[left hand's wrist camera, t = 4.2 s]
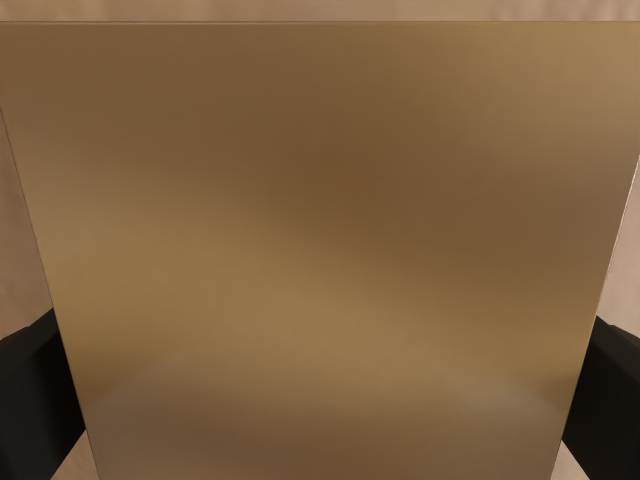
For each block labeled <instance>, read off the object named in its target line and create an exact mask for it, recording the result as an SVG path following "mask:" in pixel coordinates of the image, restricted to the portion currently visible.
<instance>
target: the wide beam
mask: <svg viewBox="0 0 640 480" xmlns="http://www.w3.org/2000/svg"><path fill="white" fill-rule="evenodd" d="M0 110H1V114H2V118H3V121H4V125H5V129H6V132H7V136H8V140H9V144H10V147H11V151H12V155H13V159H14V162H15V166H16V170H17V174H18V177H19V181H20V185H21V188H22V192H23V196H24V200H25V203H26V207H27V211H28V215H29V218H30V222H31V226H32V229H33V233H34V237H35V241H36V244H37V248H38V252H39V256H40V259H41V263H42V267H43V270H44V274H45V278H46V282H47V285H48V289H49V293H50V297H51V300H52V304H53V308H54V311H55V315H56V319H57V323H58V326H59V330H60V334H61V338H62V341H63V345H64V349H65V352H66V356H67V360H68V364H69V367H70V371H71V375H72V379H73V382H74V386H75V390H76V394H77V397H78V401H79V405H80V408H81V412H82V416H83V420H84V423H85V427H86V431H87V435H88V438H89V442H90V446H91V449H92V453H93V457H94V461H95V464H96V468H97V472H98V476H99V479H100V480H550V479H551V475H552V471H553V468H554V464H555V461H556V457H557V454H558V450H559V446H560V443H561V439H562V436H563V432H564V429H565V425H566V421H567V418H568V414H569V411H570V407H571V404H572V400H573V396H574V393H575V389H576V386H577V382H578V379H579V375H580V371H581V368H582V364H583V361H584V357H585V354H586V350H587V346H588V343H589V339H590V336H591V332H592V329H593V325H594V321H595V318H596V314H597V311H598V307H599V304H600V300H601V296H602V293H603V289H604V286H605V282H606V279H607V275H608V271H609V268H610V264H611V261H612V257H613V254H614V250H615V246H616V243H617V239H618V236H619V232H620V229H621V225H622V221H623V218H624V214H625V211H626V207H627V204H628V200H629V196H630V193H631V189H632V186H633V182H634V179H635V175H636V171H637V168H638V164H639V161H640V21H0Z"/></svg>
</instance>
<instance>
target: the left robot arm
mask: <svg viewBox="0 0 640 480" xmlns="http://www.w3.org/2000/svg"><path fill="white" fill-rule="evenodd" d="M85 429H86V427H85V423H84V420H83V416H82V412H81V408H80V405H79V401H78V397H77V394H76V390H75V386H74V382H73V379H72V375H71V371H70V367H69V364H68V360H67V356H66V352H65V349H64V345H63V341H62V338H61V334H60V330H59V326H58V323H57V319H56V315H55V311H54V308H52V309H51V310H49V311H48V312H47V313H46V314H44V315H43V316H42V317H41V318H39V319H38V320H37V321H35V322H34V323H33V324H32V325H30V326H29V327H25V328H23V329H21V330H19V331H17V332H15V333H13V334H11V335H9V336H7V337H5V338H3V339H2V340H0V480H50V479H51V478H52V476H53V475H54V473H55V472H56V471H57V469H58V468H59V466H60V465H61V464H62V462H63V461H64V459H65V458H66V456H67V455H68V454H69V452H70V451H71V449H72V448H73V446H74V445H75V444H76V442H77V441H78V439H79V438H80V436H81V435H82V434H83V432H84V431H85ZM562 441H563V442H564V444H565V445H566V446H567V448H568V449H569V451H570V452H571V454H572V455H573V456H574V458H575V459H576V461H577V462H578V464H579V465H580V466H581V468H582V469H583V471H584V472H585V473H586V475H587V476H588V478H589V479H590V480H640V339H639V338H638V337H636V336H634V335H632V334H630V333H628V332H626V331H624V330H622V329H620V328H618V327H616V326H614V325H608V324H607V323H606V322H605V321H603V320H602V319H601V318H600V317H598V316H597V315H596V318H595V321H594V325H593V329H592V332H591V336H590V339H589V343H588V346H587V350H586V354H585V357H584V361H583V364H582V368H581V371H580V375H579V379H578V382H577V386H576V389H575V393H574V396H573V400H572V404H571V407H570V411H569V414H568V418H567V421H566V425H565V429H564V432H563V436H562Z"/></svg>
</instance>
